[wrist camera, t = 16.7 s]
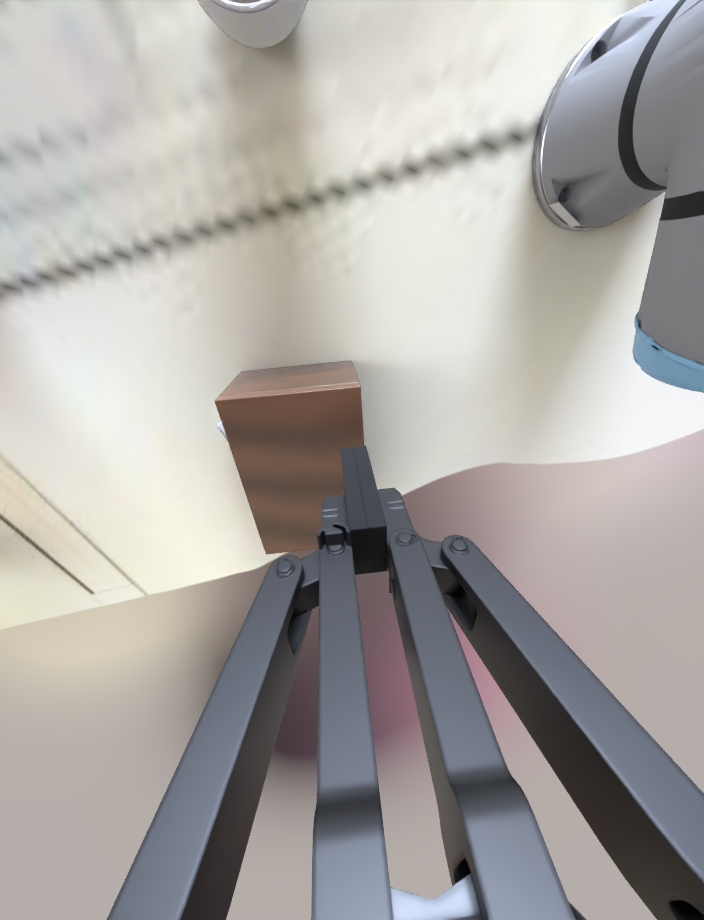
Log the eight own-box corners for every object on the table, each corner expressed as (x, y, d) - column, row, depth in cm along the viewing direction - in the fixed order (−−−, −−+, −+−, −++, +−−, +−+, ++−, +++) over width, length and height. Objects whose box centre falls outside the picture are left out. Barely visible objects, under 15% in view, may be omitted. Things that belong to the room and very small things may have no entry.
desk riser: (241, 371, 40) (214, 400, 30) (351, 360, 40) (360, 386, 30) (276, 502, 52) (265, 554, 42) (361, 493, 52) (369, 542, 42)
